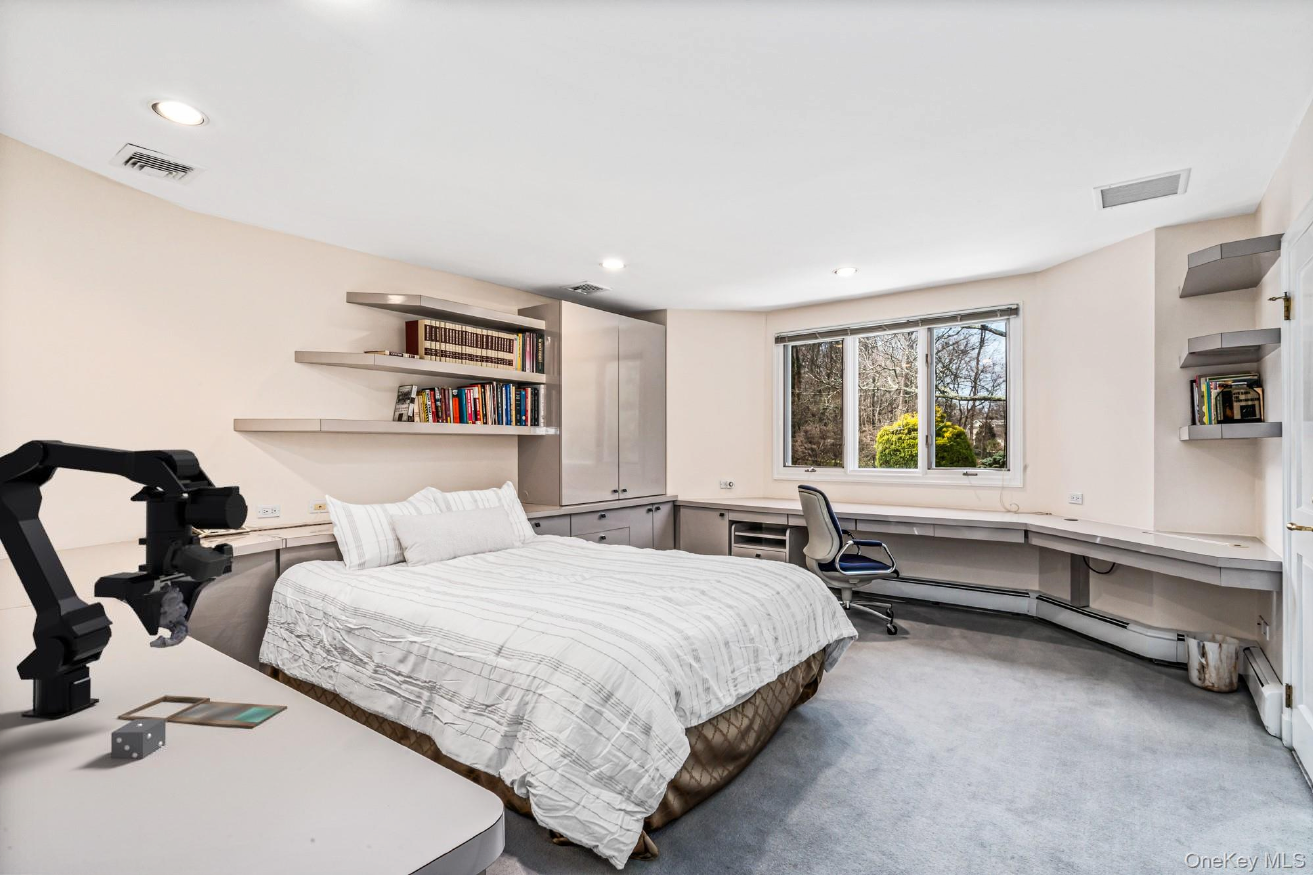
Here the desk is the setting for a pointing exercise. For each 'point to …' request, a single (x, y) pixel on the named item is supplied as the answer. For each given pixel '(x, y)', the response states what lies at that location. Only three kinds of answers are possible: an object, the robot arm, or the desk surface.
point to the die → (138, 739)
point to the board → (228, 714)
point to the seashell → (172, 618)
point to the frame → (159, 700)
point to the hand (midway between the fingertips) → (168, 630)
